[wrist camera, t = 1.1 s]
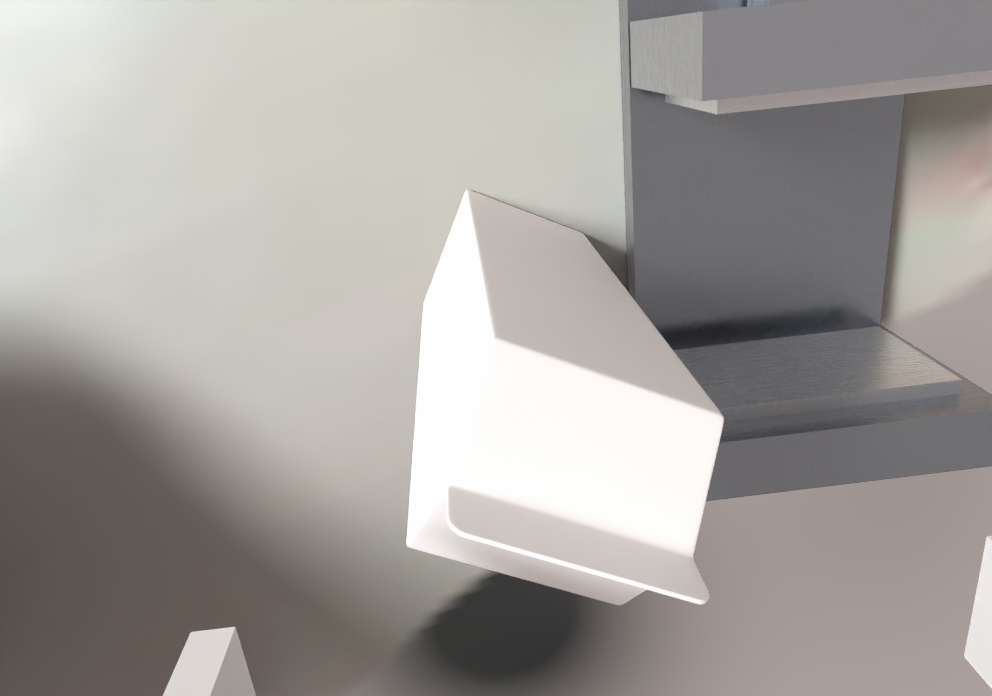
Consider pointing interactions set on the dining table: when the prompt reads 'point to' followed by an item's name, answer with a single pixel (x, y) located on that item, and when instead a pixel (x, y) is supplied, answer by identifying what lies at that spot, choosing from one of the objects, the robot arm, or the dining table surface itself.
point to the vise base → (786, 286)
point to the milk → (554, 418)
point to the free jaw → (812, 52)
